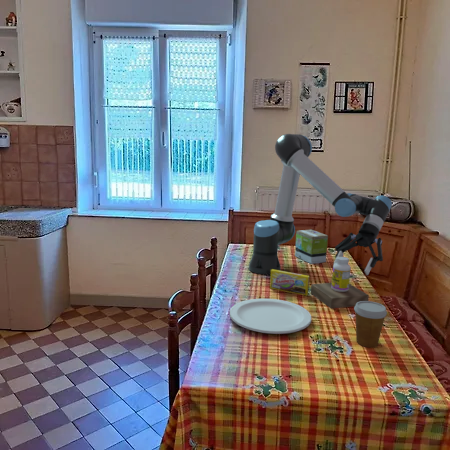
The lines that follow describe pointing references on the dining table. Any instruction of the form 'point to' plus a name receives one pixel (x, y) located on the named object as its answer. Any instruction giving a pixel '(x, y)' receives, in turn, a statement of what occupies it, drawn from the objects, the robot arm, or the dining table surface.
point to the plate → (270, 316)
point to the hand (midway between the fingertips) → (350, 269)
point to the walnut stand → (338, 295)
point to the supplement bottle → (341, 275)
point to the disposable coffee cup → (369, 322)
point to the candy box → (289, 282)
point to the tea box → (311, 246)
